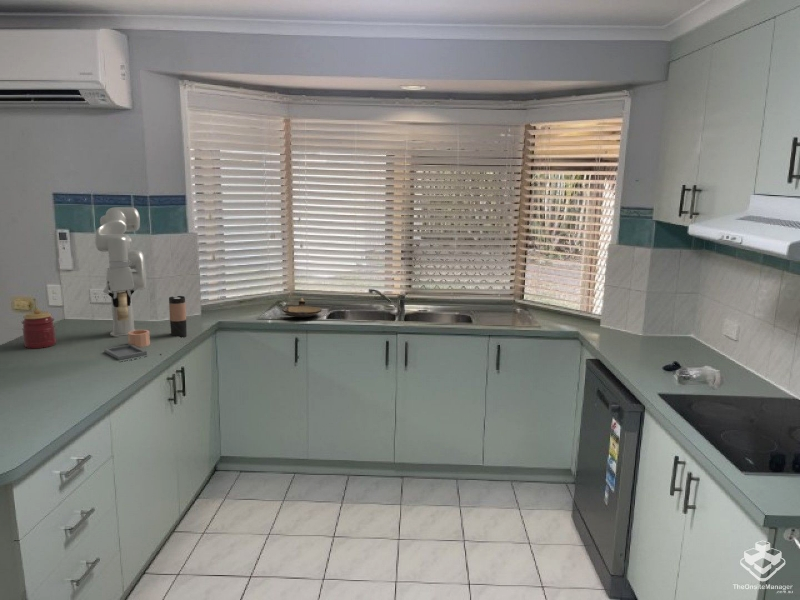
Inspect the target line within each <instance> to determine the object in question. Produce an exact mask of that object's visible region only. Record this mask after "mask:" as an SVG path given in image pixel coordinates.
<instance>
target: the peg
mask: <svg viewBox="0 0 800 600" xmlns="http://www.w3.org/2000/svg"><path fill="white" fill-rule="evenodd" d="M117 299H118V307H117V319H118V321H126V320H129V318H128V304H127V292H118V293H117Z"/></svg>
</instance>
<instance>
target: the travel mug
mask: <svg viewBox="0 0 800 600" xmlns="http://www.w3.org/2000/svg"><path fill="white" fill-rule="evenodd" d="M168 303H169V304H168V305H169V306H168V307H169V324H170V325H169V326H170V336H173V337H179V338H182V337H183V338H185V337H187V336H188V335H187V332H188V331H187V311H186V308H187V307H186V297H185V296H183V295H178V296H175V297H174V296H170V297H169V298H168Z"/></svg>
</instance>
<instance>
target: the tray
mask: <svg viewBox="0 0 800 600" xmlns="http://www.w3.org/2000/svg"><path fill="white" fill-rule="evenodd" d="M103 351H104V352H103V353H105V354H106V355H109V356H110V357H112V358H114V359H115V360H117V361H120V363H123V361H125V362H128V360H130V361H133V360H132V359H135V360H138V359H137V358H139V359H142V358H141V357H144V358H147V357H148V356H147V355H148V353H147V352H148V351H146V350H144V349H143V348H142V347H136V346H134V345H132V344H125V345H120V346H115V347H110V348H109V347H108V348H104V349H103Z"/></svg>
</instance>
